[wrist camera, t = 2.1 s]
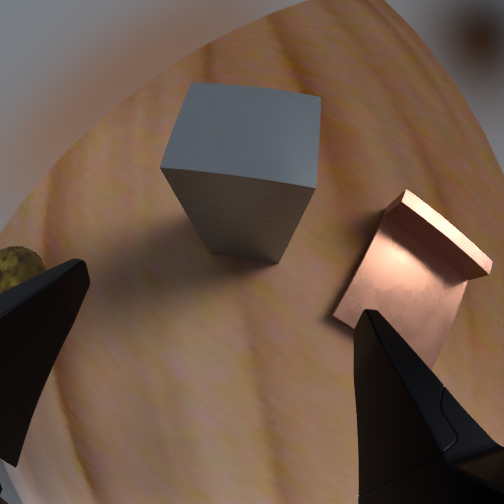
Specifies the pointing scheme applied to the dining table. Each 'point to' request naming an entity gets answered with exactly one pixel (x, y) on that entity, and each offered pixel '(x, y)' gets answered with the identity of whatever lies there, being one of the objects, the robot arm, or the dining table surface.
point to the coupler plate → (413, 275)
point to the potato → (18, 266)
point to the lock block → (244, 166)
